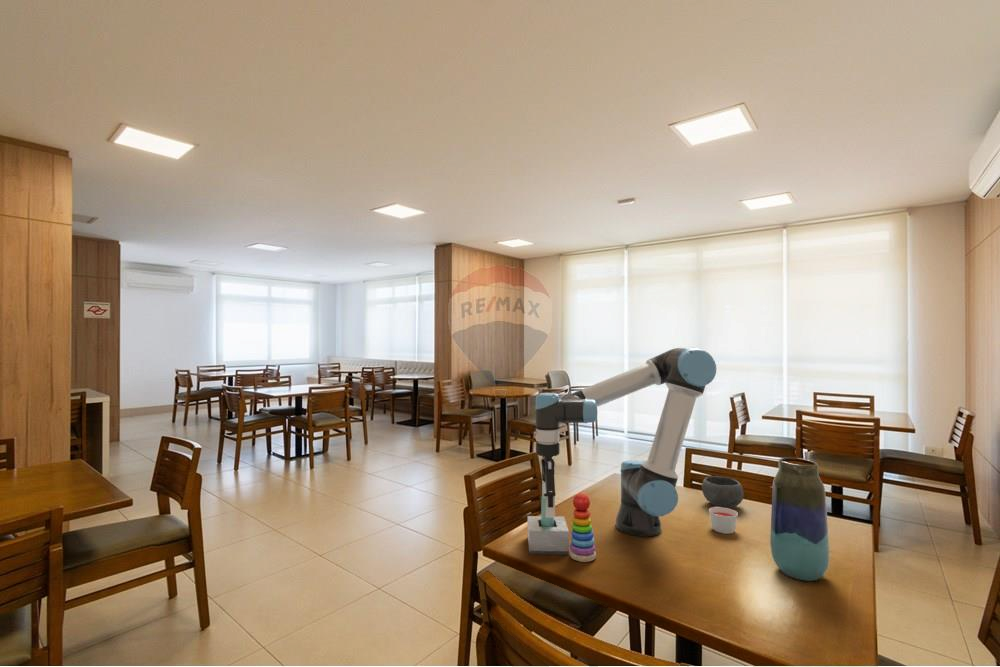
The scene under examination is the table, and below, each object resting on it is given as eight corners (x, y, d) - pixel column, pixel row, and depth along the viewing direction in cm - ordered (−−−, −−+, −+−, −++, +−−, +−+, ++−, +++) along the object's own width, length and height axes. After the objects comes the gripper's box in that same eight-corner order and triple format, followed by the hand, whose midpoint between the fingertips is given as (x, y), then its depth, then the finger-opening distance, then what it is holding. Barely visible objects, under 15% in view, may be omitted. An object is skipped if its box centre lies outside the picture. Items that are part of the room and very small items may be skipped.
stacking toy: (597, 553, 139) (597, 491, 140) (594, 565, 132) (594, 499, 132) (571, 549, 142) (571, 488, 143) (567, 560, 134) (567, 496, 135)
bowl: (751, 512, 174) (751, 486, 174) (712, 512, 174) (712, 486, 174) (732, 499, 189) (732, 475, 189) (696, 499, 189) (695, 475, 189)
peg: (540, 539, 147) (541, 495, 147) (552, 539, 147) (553, 495, 147) (541, 544, 143) (542, 499, 143) (554, 544, 143) (554, 499, 143)
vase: (832, 592, 118) (830, 470, 119) (769, 577, 125) (768, 463, 126) (827, 570, 130) (826, 459, 130) (771, 557, 137) (770, 453, 138)
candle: (731, 537, 151) (731, 518, 151) (704, 529, 158) (704, 511, 158) (742, 530, 157) (742, 512, 157) (715, 522, 164) (715, 505, 164)
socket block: (563, 537, 150) (563, 516, 151) (568, 554, 138) (568, 531, 139) (527, 537, 151) (527, 516, 151) (529, 554, 139) (529, 530, 139)
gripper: (533, 434, 158) (534, 496, 157) (538, 451, 133) (539, 524, 132) (555, 434, 158) (556, 495, 157) (564, 450, 133) (565, 524, 132)
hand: (548, 509), depth 145 cm, fingers open, 13 cm apart
